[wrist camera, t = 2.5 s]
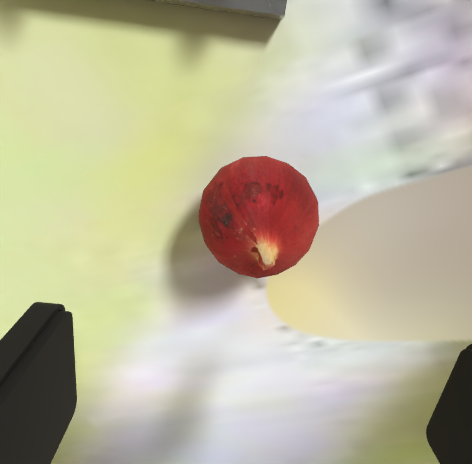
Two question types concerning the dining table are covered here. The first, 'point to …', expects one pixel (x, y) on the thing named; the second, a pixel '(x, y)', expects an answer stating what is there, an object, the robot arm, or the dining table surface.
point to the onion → (258, 216)
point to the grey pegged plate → (238, 6)
